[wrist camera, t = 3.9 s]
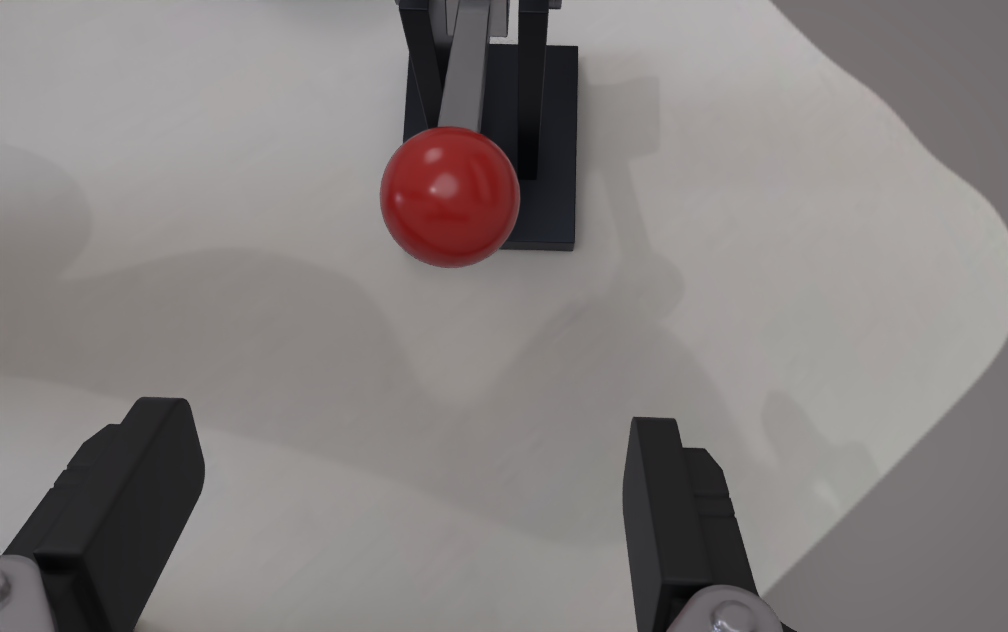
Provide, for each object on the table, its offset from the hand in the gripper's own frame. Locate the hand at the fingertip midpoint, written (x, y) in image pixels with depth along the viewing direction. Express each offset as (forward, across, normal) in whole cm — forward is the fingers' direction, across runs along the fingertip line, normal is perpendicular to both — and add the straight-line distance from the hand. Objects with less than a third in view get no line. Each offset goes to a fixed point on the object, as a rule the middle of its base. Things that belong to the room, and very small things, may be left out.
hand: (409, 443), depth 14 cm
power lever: (+14, 0, -1) cm, 14 cm away
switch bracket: (+29, 0, +6) cm, 30 cm away
